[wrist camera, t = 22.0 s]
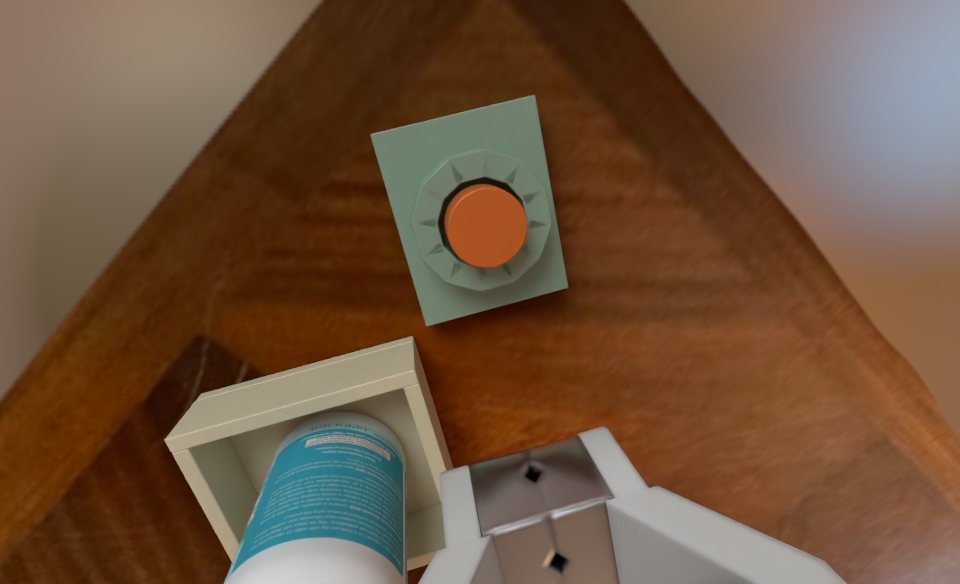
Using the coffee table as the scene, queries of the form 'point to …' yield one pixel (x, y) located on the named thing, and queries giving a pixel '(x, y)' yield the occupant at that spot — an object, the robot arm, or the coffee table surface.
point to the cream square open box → (292, 400)
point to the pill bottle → (329, 508)
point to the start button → (485, 225)
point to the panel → (448, 170)
